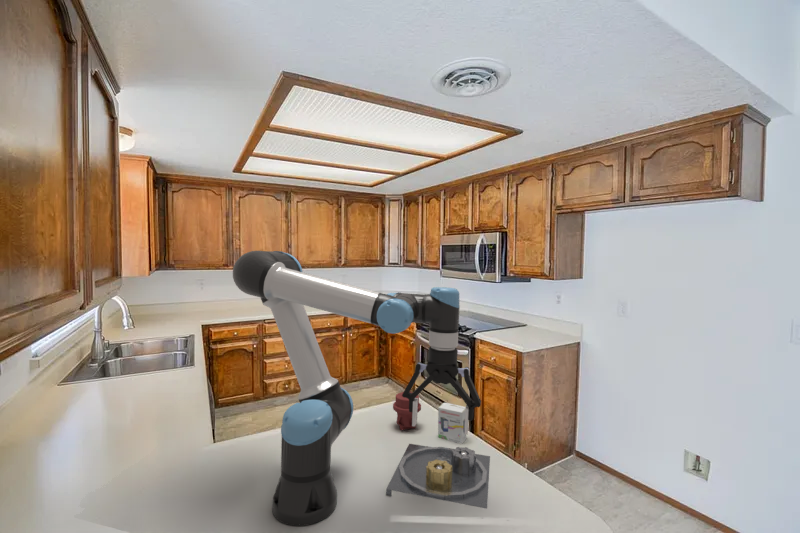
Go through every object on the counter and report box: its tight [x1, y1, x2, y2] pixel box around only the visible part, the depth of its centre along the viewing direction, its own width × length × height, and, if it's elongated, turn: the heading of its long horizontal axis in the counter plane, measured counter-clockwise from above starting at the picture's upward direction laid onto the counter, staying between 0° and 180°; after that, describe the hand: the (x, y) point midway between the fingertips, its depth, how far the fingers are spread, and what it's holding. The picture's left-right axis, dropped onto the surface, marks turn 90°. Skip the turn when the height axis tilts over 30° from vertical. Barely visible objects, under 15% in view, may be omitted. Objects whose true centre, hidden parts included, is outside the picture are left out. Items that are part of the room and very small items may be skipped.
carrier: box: [385, 443, 491, 509], centre depth 105 cm, size 25×25×6 cm
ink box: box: [437, 402, 467, 445], centre depth 125 cm, size 9×5×12 cm, turn 62°
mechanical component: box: [392, 391, 422, 431], centre depth 136 cm, size 12×10×10 cm
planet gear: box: [426, 460, 452, 491], centre depth 99 cm, size 7×7×4 cm
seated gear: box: [451, 446, 476, 475], centre depth 107 cm, size 7×7×4 cm
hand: (439, 428), depth 99 cm, fingers open, 13 cm apart
